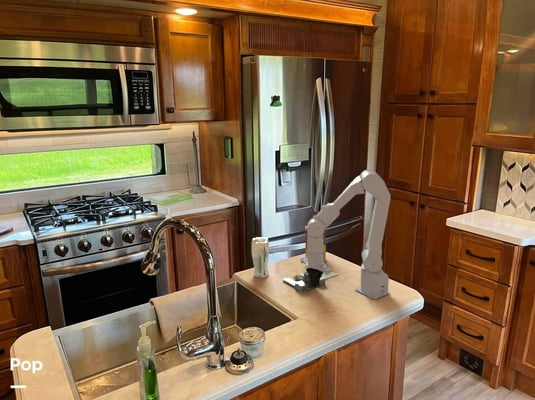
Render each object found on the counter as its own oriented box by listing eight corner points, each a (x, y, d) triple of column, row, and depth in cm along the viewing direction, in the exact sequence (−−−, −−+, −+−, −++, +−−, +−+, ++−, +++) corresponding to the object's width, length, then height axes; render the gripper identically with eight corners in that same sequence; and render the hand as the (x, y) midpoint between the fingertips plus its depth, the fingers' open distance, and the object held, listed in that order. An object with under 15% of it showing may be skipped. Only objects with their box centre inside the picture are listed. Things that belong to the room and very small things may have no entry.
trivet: (337, 275, 161) (337, 274, 161) (324, 279, 157) (324, 278, 157) (324, 268, 167) (324, 268, 167) (311, 273, 163) (311, 272, 163)
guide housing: (325, 284, 153) (325, 278, 152) (301, 292, 146) (301, 286, 146) (305, 274, 162) (305, 268, 162) (282, 281, 156) (282, 275, 156)
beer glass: (249, 275, 163) (247, 240, 159) (262, 270, 167) (261, 236, 164) (259, 280, 158) (258, 244, 154) (273, 275, 162) (272, 240, 159)
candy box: (325, 258, 179) (325, 225, 175) (325, 262, 174) (326, 228, 171) (305, 258, 179) (305, 225, 176) (305, 261, 175) (305, 228, 172)
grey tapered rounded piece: (316, 286, 151) (316, 274, 150) (308, 289, 149) (308, 276, 148) (299, 277, 159) (299, 266, 158) (291, 280, 157) (291, 268, 156)
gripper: (294, 248, 149) (294, 282, 152) (320, 260, 137) (320, 296, 141) (308, 244, 153) (308, 277, 156) (335, 255, 141) (334, 291, 144)
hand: (315, 286), depth 149 cm, fingers closed
